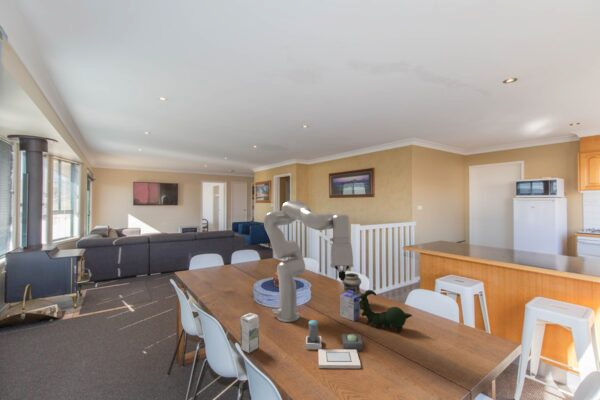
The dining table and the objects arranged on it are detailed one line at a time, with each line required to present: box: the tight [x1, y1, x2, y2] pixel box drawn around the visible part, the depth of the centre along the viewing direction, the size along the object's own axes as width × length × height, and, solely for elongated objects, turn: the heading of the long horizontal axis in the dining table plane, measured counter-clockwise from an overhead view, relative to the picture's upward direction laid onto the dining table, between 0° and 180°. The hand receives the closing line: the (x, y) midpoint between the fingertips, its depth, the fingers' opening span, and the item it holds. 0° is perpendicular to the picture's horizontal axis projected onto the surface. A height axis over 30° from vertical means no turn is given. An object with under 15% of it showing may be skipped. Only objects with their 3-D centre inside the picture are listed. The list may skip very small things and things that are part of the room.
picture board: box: [317, 348, 362, 369], centre depth 109 cm, size 16×11×1 cm
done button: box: [347, 333, 357, 341], centre depth 120 cm, size 4×4×4 cm
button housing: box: [341, 333, 364, 351], centre depth 120 cm, size 8×8×3 cm
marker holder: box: [305, 335, 323, 350], centre depth 121 cm, size 7×7×2 cm
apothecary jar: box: [341, 272, 362, 304], centre depth 169 cm, size 12×12×18 cm
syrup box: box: [240, 312, 260, 354], centre depth 119 cm, size 6×6×14 cm
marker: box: [308, 319, 319, 343], centre depth 121 cm, size 4×4×10 cm
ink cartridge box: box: [339, 290, 361, 322], centre depth 149 cm, size 10×6×14 cm, turn 41°
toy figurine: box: [359, 289, 413, 333], centre depth 136 cm, size 9×19×25 cm
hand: (342, 279), depth 127 cm, fingers closed
